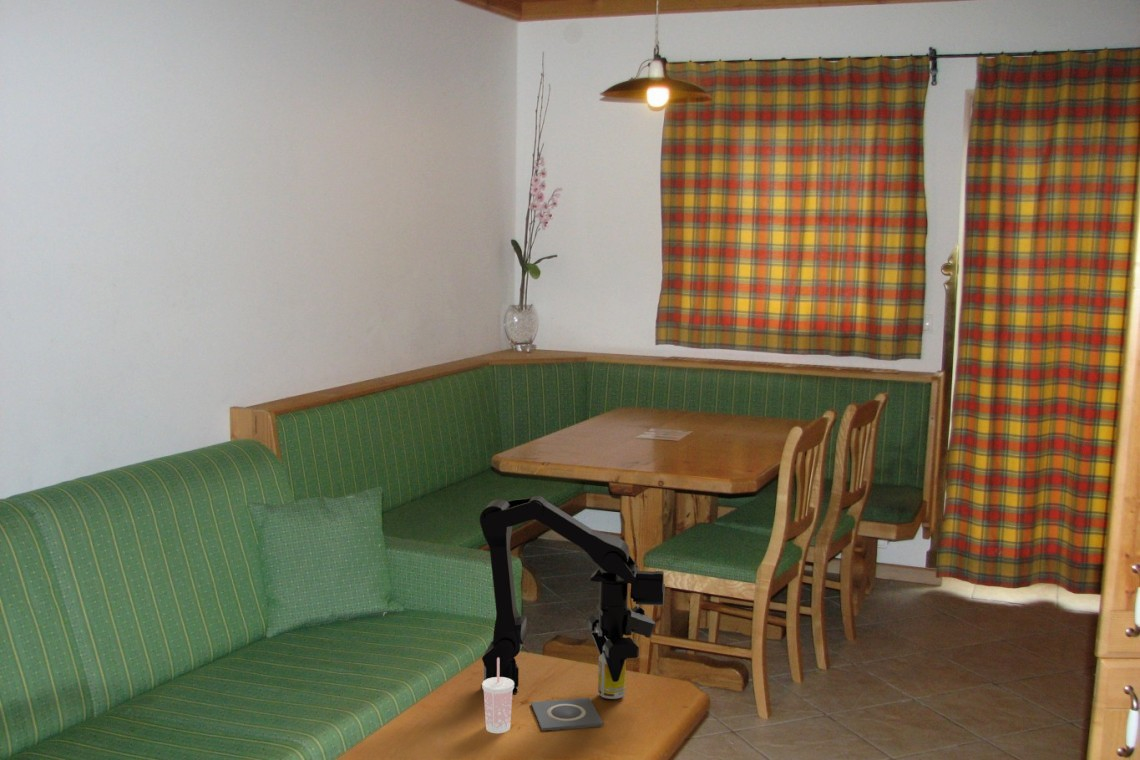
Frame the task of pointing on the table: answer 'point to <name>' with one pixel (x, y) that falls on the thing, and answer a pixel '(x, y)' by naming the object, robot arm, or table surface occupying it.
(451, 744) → the table surface
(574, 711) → the card
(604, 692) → the supplement bottle
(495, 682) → the beverage cup
